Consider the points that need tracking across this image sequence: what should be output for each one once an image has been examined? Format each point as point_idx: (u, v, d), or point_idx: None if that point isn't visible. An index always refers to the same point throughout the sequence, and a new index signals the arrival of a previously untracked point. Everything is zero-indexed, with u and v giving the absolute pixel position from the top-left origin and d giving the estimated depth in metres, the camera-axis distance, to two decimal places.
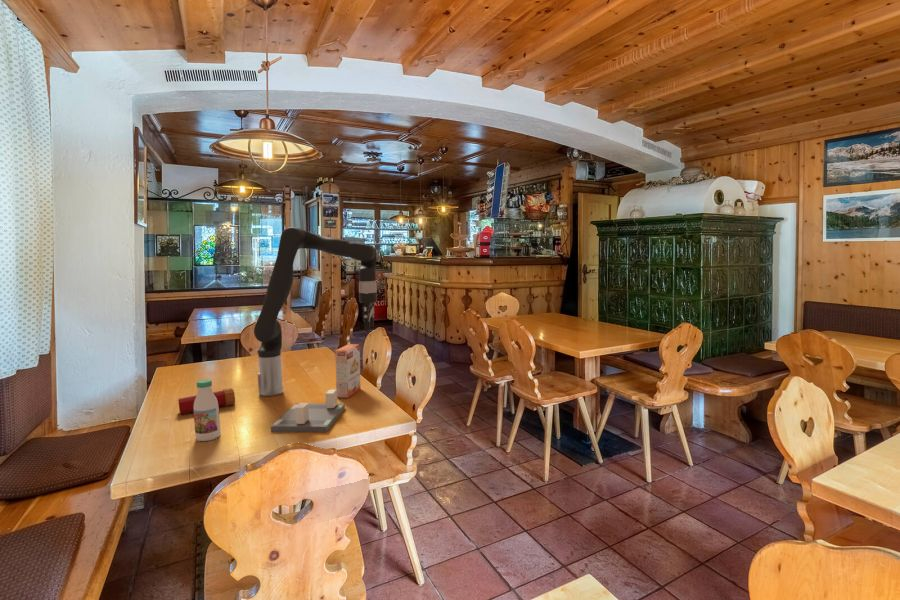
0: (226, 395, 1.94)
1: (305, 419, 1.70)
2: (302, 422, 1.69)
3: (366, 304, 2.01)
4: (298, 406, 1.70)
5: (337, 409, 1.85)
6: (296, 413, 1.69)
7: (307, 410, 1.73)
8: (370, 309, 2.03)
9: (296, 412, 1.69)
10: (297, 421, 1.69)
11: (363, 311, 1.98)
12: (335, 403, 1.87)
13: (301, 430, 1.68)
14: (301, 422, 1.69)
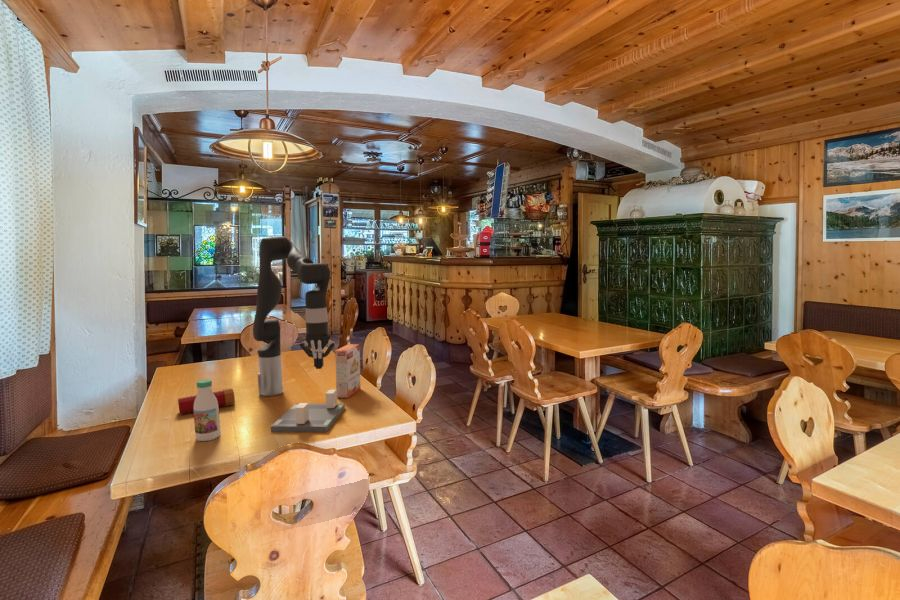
0: (226, 395, 1.93)
1: (305, 419, 1.70)
2: (302, 422, 1.69)
3: (327, 334, 1.67)
4: (298, 406, 1.70)
5: (337, 409, 1.85)
6: (296, 413, 1.69)
7: (307, 410, 1.73)
8: None
9: (296, 412, 1.69)
10: (297, 421, 1.69)
11: (332, 348, 1.67)
12: (335, 403, 1.87)
13: (301, 430, 1.68)
14: (301, 422, 1.69)
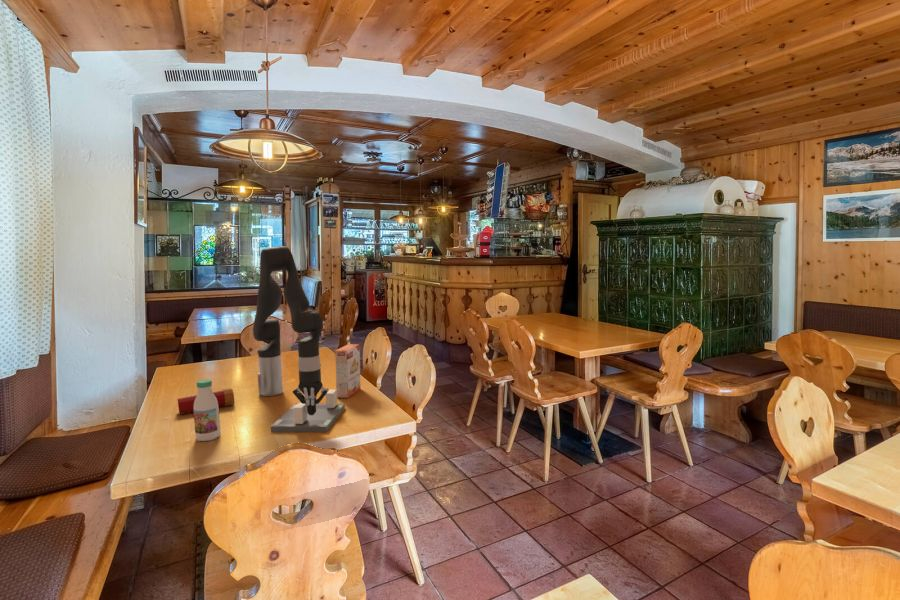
0: (225, 395, 1.93)
1: (303, 419, 1.70)
2: (300, 422, 1.69)
3: (320, 381, 1.70)
4: (296, 406, 1.70)
5: (337, 409, 1.85)
6: (294, 413, 1.69)
7: (305, 410, 1.73)
8: None
9: (294, 412, 1.69)
10: (295, 421, 1.69)
11: (324, 395, 1.69)
12: (335, 403, 1.87)
13: (301, 430, 1.68)
14: (299, 422, 1.69)
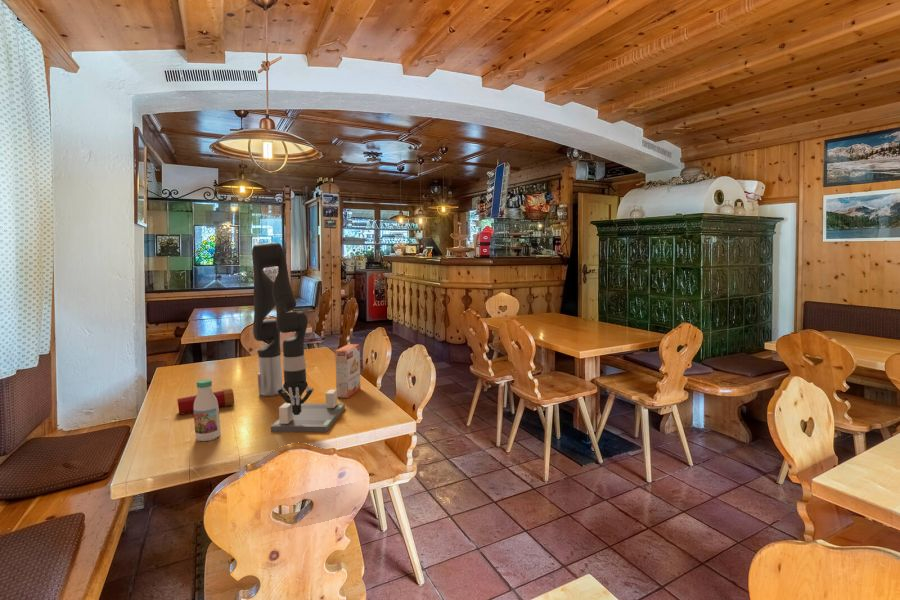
0: (225, 395, 1.93)
1: (289, 419, 1.71)
2: (286, 422, 1.69)
3: (305, 381, 1.70)
4: (282, 406, 1.70)
5: (337, 409, 1.85)
6: (280, 413, 1.69)
7: (291, 410, 1.73)
8: None
9: (280, 412, 1.69)
10: (281, 421, 1.69)
11: (309, 395, 1.70)
12: (335, 403, 1.87)
13: (301, 430, 1.68)
14: (285, 422, 1.69)
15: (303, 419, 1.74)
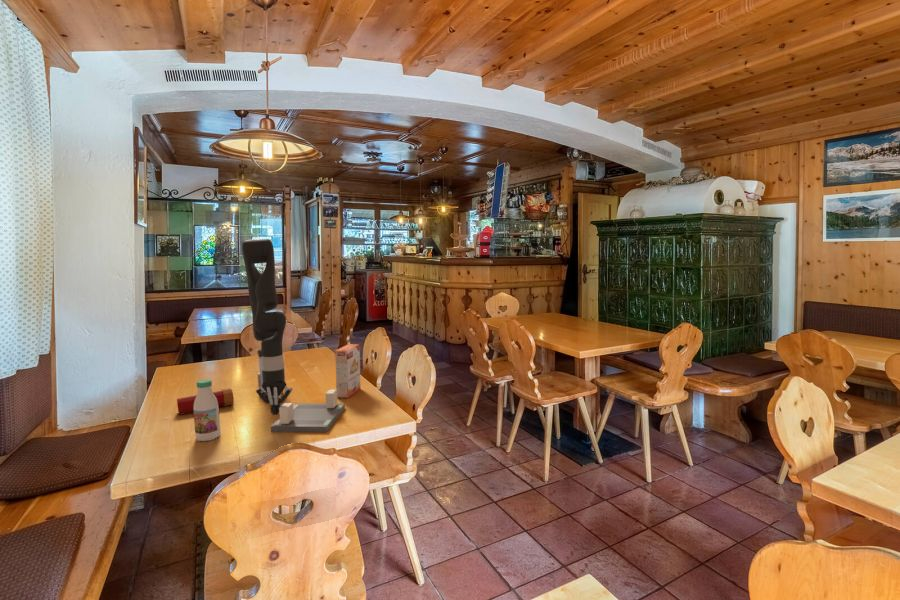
0: (225, 395, 1.93)
1: (289, 419, 1.71)
2: (286, 422, 1.69)
3: (284, 381, 1.70)
4: (282, 406, 1.70)
5: (337, 409, 1.85)
6: (280, 413, 1.69)
7: (292, 410, 1.73)
8: None
9: (280, 412, 1.69)
10: (281, 421, 1.69)
11: (287, 395, 1.70)
12: (335, 403, 1.87)
13: (301, 430, 1.68)
14: (285, 422, 1.69)
15: (303, 419, 1.74)
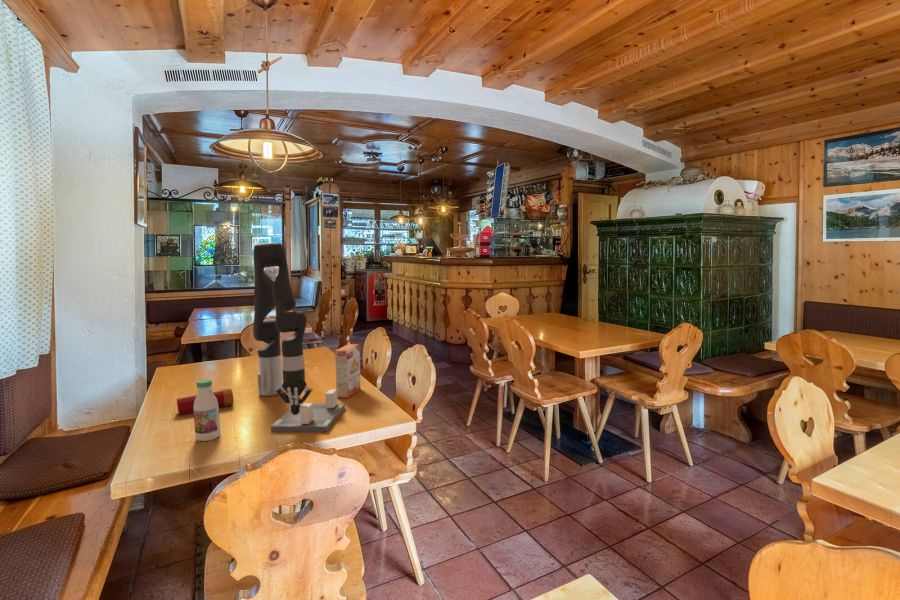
0: (224, 395, 1.93)
1: (310, 419, 1.70)
2: (307, 422, 1.69)
3: (304, 381, 1.69)
4: (303, 406, 1.70)
5: (337, 409, 1.85)
6: (301, 413, 1.69)
7: (311, 410, 1.72)
8: None
9: (301, 412, 1.69)
10: (302, 421, 1.69)
11: (308, 395, 1.69)
12: (335, 403, 1.87)
13: (301, 430, 1.68)
14: (305, 422, 1.69)
15: None
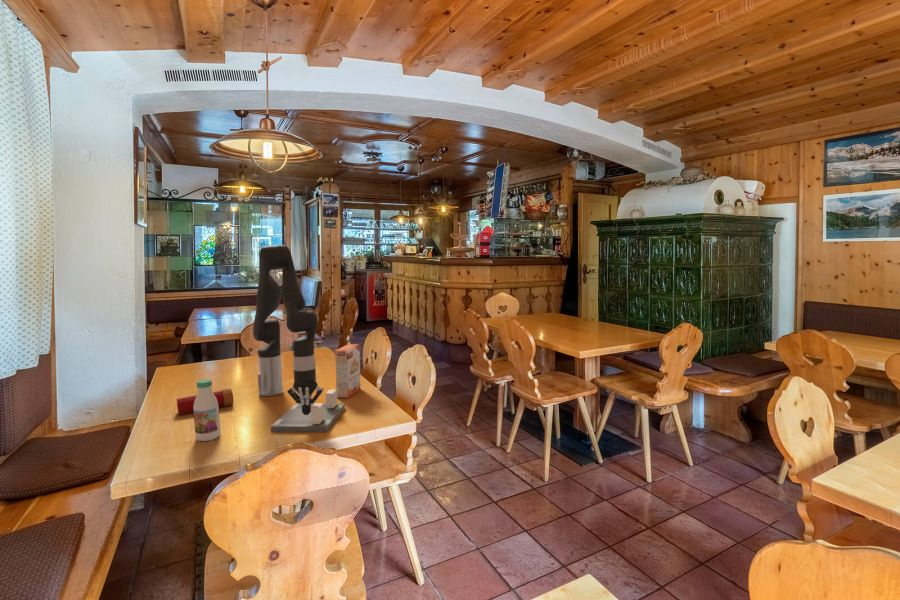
0: (224, 395, 1.93)
1: (321, 419, 1.70)
2: (318, 422, 1.69)
3: (315, 381, 1.69)
4: (314, 406, 1.70)
5: (337, 409, 1.85)
6: (312, 413, 1.68)
7: (322, 410, 1.72)
8: None
9: (312, 412, 1.68)
10: (313, 421, 1.69)
11: (319, 395, 1.69)
12: (335, 403, 1.87)
13: (301, 430, 1.68)
14: (317, 422, 1.69)
15: (303, 419, 1.74)
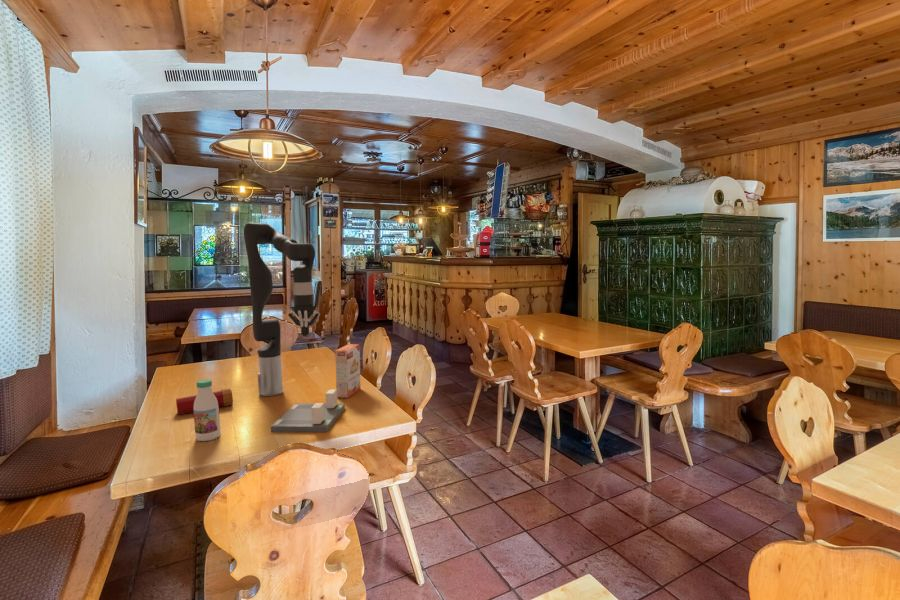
0: (224, 395, 1.93)
1: (321, 419, 1.70)
2: (318, 422, 1.69)
3: (313, 306, 1.91)
4: (314, 406, 1.70)
5: (337, 409, 1.85)
6: (312, 413, 1.68)
7: (323, 410, 1.72)
8: None
9: (312, 412, 1.68)
10: (313, 421, 1.69)
11: (316, 318, 1.91)
12: (335, 403, 1.87)
13: (301, 430, 1.68)
14: (317, 422, 1.69)
15: (303, 419, 1.74)
